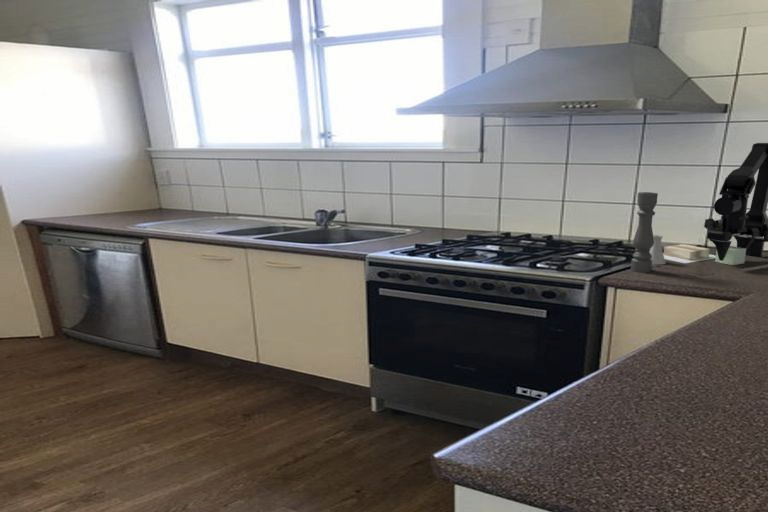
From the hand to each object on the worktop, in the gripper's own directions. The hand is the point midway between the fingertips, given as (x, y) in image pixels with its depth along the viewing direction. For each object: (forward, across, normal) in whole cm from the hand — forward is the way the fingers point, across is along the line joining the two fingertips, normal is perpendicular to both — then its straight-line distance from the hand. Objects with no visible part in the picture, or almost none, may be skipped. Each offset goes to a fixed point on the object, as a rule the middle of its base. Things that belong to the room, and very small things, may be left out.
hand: (730, 258), depth 183 cm
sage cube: (+2, 0, 0) cm, 2 cm away
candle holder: (+2, +31, -9) cm, 32 cm away
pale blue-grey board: (+2, +4, -13) cm, 14 cm away
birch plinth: (+1, +4, -13) cm, 14 cm away
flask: (+2, +21, -12) cm, 24 cm away
